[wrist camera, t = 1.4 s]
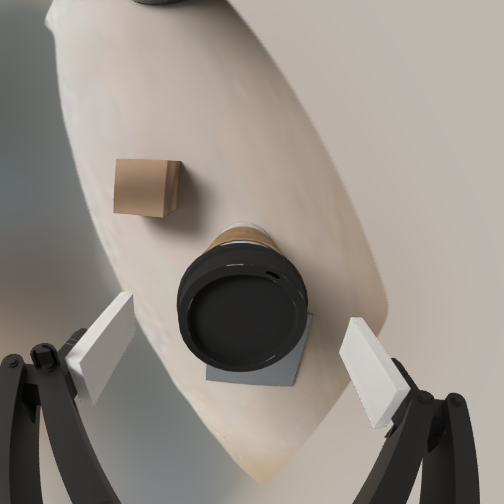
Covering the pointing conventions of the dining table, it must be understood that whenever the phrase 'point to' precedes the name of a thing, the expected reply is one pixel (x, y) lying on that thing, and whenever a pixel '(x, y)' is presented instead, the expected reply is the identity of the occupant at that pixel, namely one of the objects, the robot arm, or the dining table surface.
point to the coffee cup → (242, 302)
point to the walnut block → (146, 187)
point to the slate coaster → (269, 376)
